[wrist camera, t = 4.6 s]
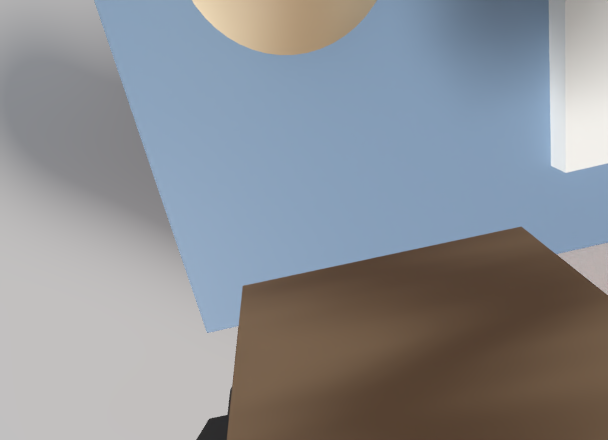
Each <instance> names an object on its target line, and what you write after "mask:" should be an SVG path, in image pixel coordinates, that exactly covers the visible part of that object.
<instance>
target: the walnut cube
mask: <svg viewBox="0 0 608 440" xmlns="http://www.w3.org/2000/svg"><path fill="white" fill-rule="evenodd" d="M227 440H608V295H606V294H605V293H604V292H603V291H601V290H600V289H599V288H598V287H596V286H595V285H594V284H593V283H591V282H590V281H589V280H588V279H586V278H585V277H584V276H583V275H581V274H580V273H579V272H578V271H576V270H575V269H574V268H573V267H571V266H570V265H569V264H568V263H566V262H565V261H564V260H563V259H561V258H560V257H559V256H558V255H556V254H555V253H554V252H553V251H551V250H550V249H549V248H548V247H546V246H545V245H544V244H543V243H541V242H540V241H539V240H538V239H536V238H535V237H534V236H533V235H531V234H530V233H529V232H528V231H526V230H525V229H524V228H523V227H516V228H512V229H507V230H502V231H498V232H493V233H488V234H484V235H479V236H474V237H469V238H465V239H460V240H455V241H451V242H446V243H441V244H437V245H432V246H427V247H423V248H418V249H413V250H409V251H404V252H399V253H394V254H390V255H385V256H380V257H376V258H371V259H366V260H362V261H357V262H352V263H348V264H343V265H338V266H333V267H329V268H324V269H319V270H315V271H310V272H305V273H301V274H296V275H291V276H287V277H282V278H277V279H272V280H268V281H263V282H258V283H254V284H249V285H244V286H243V288H242V297H241V307H240V317H239V327H238V336H237V346H236V356H235V365H234V375H233V385H232V394H231V404H230V414H229V424H228V433H227Z"/></svg>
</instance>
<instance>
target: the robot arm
mask: <svg viewBox="0 0 608 440" xmlns="http://www.w3.org/2000/svg"><path fill="white" fill-rule="evenodd" d="M231 394H232V388H231V390H230V398H229V407H228V415H226V416H220V417H216V418H211V419H209V420H208V422H207V424H206V425H205V427H204V428H203V430H202V432H201V433H200V435H199V437H198V438H197V440H227V433H228V424H229V414H230V404H231Z"/></svg>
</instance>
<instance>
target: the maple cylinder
mask: <svg viewBox="0 0 608 440" xmlns="http://www.w3.org/2000/svg"><path fill="white" fill-rule="evenodd" d="M192 1H193V3H194V5H195V6H196V7H197V8H198V10H199V11H200V12H201V13H202V15H203V16H204V17H205V18H206V19H207V20H208V21H209V22H210V23H211V24H212V25H213V26H214V27H215V28H216V29H217V30H219V31H220V32H221V33H223V34H224V35H225V36H227V37H228V38H230V39H231V40H233V41H235V42H237V43H238V44H240V45H243V46H245V47H247V48H250V49H252V50H256V51H259V52H263V53H267V54H275V55H297V54H303V53H309V52H312V51H315V50H319V49H321V48H324V47H326V46H328V45H330V44H333V43H334V42H336V41H337V40H339V39H341V38H342V37H344V36H345V35H347V34H348V33H349V32H350V31H351V30H353V29H354V28H355V27H356V26H357V25H358V24H359V23H360V22H361V21H362V20H363V19H364V18H365V17H366V15H367V14H368V13H369V11H370V10H371V8H372V7H373V6H374V4H375V3H376V1H377V0H192Z"/></svg>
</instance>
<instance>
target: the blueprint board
mask: <svg viewBox="0 0 608 440" xmlns="http://www.w3.org/2000/svg"><path fill="white" fill-rule="evenodd" d="M94 1H95V4H96V7H97V10H98V13H99V16H100V19H101V22H102V25H103V28H104V31H105V33H106V37H107V40H108V42H109V45H110V48H111V51H112V54H113V57H114V60H115V63H116V66H117V69H118V72H119V75H120V78H121V81H122V83H123V86H124V90H125V93H126V95H127V98H128V101H129V104H130V107H131V110H132V113H133V116H134V119H135V122H136V125H137V128H138V131H139V134H140V137H141V140H142V143H143V146H144V148H145V152H146V154H147V157H148V160H149V163H150V166H151V169H152V172H153V175H154V178H155V181H156V184H157V187H158V190H159V193H160V196H161V198H162V202H163V205H164V207H165V210H166V213H167V216H168V219H169V222H170V225H171V228H172V231H173V234H174V237H175V240H176V243H177V246H178V249H179V252H180V255H181V258H182V260H183V263H184V266H185V269H186V272H187V275H188V278H189V281H190V284H191V287H192V290H193V293H194V296H195V299H196V302H197V305H198V308H199V311H200V313H201V316H202V319H203V322H204V325H205V328H206V331H207V333H209V332H214V331H218V330H223V329H227V328H231V327H236V326H239V317H240V307H241V297H242V288H243V286H244V285H249V284H254V283H258V282H263V281H268V280H272V279H277V278H282V277H287V276H291V275H296V274H301V273H305V272H310V271H315V270H319V269H324V268H329V267H333V266H338V265H343V264H348V263H352V262H357V261H362V260H366V259H371V258H376V257H380V256H385V255H390V254H394V253H399V252H404V251H409V250H413V249H418V248H423V247H427V246H432V245H437V244H441V243H446V242H451V241H455V240H460V239H465V238H469V237H474V236H479V235H484V234H488V233H493V232H498V231H502V230H507V229H512V228H516V227H523V228H524V229H525V230H526V231H528V232H529V233H530V234H531V235H533V236H534V237H535V238H536V239H538V240H539V241H540V242H541V243H543V244H544V245H545V246H546V247H548V248H549V249H550V250H551V251H553V252H554V253H555V254H559V253H563V252H568V251H572V250H577V249H581V248H585V247H590V246H594V245H599V244H603V243H608V0H377V1H376V3H375V4H374V6H373V7H372V8H371V10H370V11H369V13H368V14H367V15H366V17H365V18H364V19H363V20H362V21H361V22H360V23H359V24H358V25H357V26H356V27H355V28H354V29H353V30H351V31H350V32H349V33H348V34H347V35H345V36H344V37H342V38H341V39H339V40H337V41H336V42H334V43H333V44H330V45H328V46H326V47H324V48H321V49H319V50H315V51H312V52H309V53H303V54H297V55H275V54H267V53H263V52H259V51H256V50H252V49H250V48H247V47H245V46H243V45H240V44H238V43H237V42H235V41H233V40H231V39H230V38H228V37H227V36H225V35H224V34H223V33H221V32H220V31H219V30H217V29H216V28H215V27H214V26H213V25H212V24H211V23H210V22H209V21H208V20H207V19H206V18H205V17H204V16H203V15H202V13H201V12H200V11H199V10H198V8H197V7H196V6H195V5H194V3H193V1H192V0H94Z"/></svg>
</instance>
